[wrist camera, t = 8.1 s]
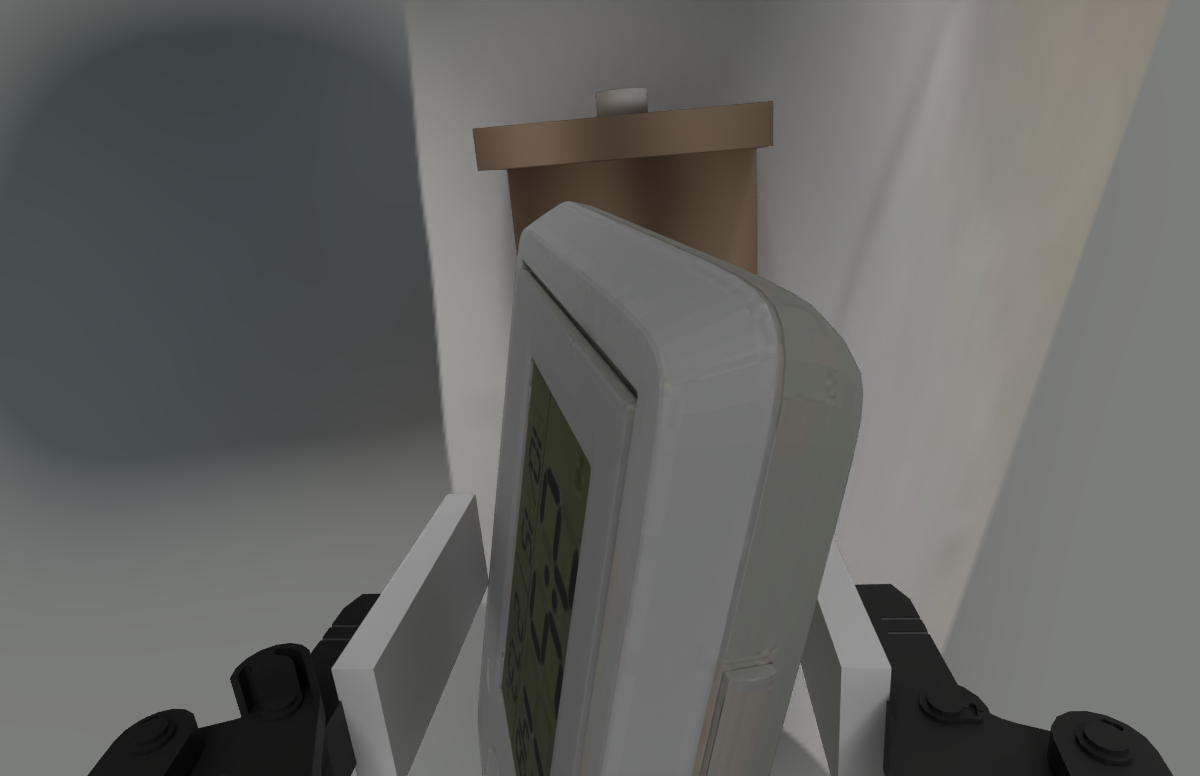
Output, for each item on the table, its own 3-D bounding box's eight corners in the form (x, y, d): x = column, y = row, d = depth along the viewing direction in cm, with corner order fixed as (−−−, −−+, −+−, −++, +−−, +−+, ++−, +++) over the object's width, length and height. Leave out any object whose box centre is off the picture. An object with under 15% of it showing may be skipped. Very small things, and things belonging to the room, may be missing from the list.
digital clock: (552, 161, 16) (361, 154, 6) (908, 288, 16) (1301, 490, 6) (398, 676, 21) (159, 1131, 11) (669, 769, 22) (670, 1301, 11)
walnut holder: (752, 88, 30) (772, 70, 24) (756, 565, 37) (773, 640, 31) (506, 111, 31) (468, 99, 25) (558, 568, 38) (538, 641, 32)
